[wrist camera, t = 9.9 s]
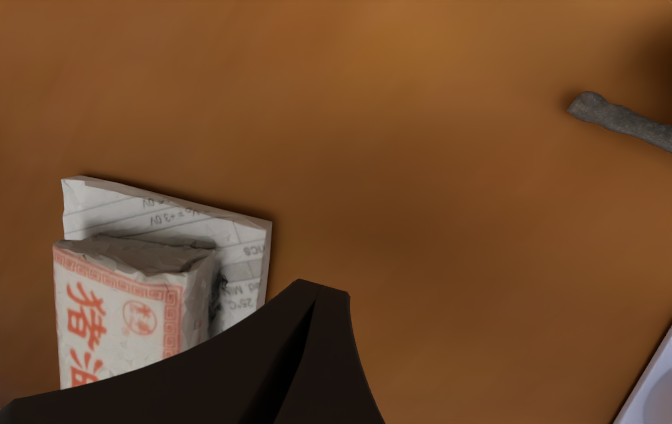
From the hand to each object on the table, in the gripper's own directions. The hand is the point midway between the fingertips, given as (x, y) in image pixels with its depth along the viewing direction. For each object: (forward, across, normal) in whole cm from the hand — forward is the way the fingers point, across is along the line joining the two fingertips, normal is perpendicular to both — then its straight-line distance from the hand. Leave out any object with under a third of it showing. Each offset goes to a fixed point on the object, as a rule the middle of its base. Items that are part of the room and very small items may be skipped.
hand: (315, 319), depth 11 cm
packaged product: (+10, +8, +11) cm, 17 cm away
